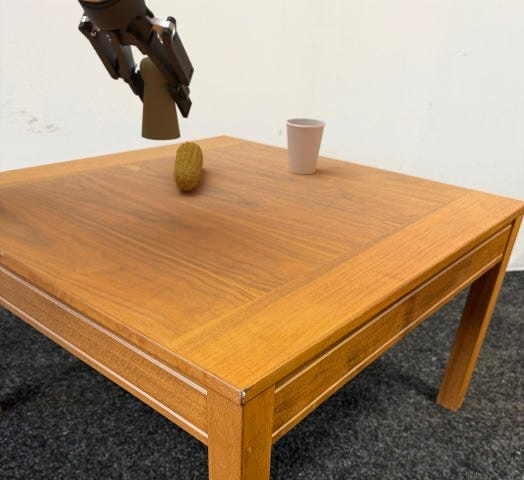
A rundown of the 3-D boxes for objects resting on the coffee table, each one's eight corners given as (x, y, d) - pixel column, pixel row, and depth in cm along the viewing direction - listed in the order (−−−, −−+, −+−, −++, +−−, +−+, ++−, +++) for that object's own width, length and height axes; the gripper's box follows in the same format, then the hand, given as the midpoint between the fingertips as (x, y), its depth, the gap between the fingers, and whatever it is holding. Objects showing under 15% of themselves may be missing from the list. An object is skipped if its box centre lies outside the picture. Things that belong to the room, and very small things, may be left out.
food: (177, 167, 118) (175, 138, 115) (203, 167, 119) (202, 138, 115) (172, 196, 100) (170, 163, 97) (203, 197, 101) (202, 164, 98)
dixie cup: (302, 178, 114) (306, 127, 109) (274, 169, 119) (277, 120, 114) (329, 172, 119) (334, 123, 113) (301, 164, 124) (305, 116, 119)
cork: (133, 136, 85) (126, 55, 79) (159, 130, 89) (154, 53, 83) (163, 142, 82) (158, 59, 76) (188, 135, 86) (186, 57, 81)
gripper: (181, -45, 63) (230, 93, 85) (45, -50, 67) (126, 83, 90) (163, 9, 62) (217, 135, 84) (25, 1, 66) (112, 123, 88)
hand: (170, 108), depth 87 cm, fingers closed on cork, 5 cm apart
